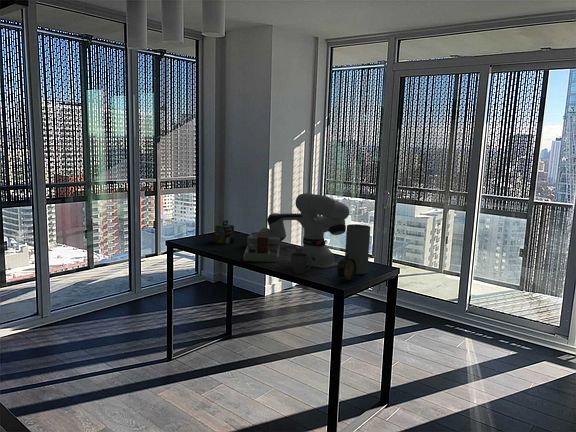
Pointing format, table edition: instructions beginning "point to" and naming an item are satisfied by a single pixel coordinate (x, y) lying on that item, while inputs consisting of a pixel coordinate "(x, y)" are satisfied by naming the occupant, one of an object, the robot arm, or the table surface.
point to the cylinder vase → (358, 246)
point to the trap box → (261, 254)
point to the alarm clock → (346, 268)
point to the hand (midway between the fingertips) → (262, 243)
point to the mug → (300, 262)
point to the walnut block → (263, 243)
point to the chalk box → (224, 233)
